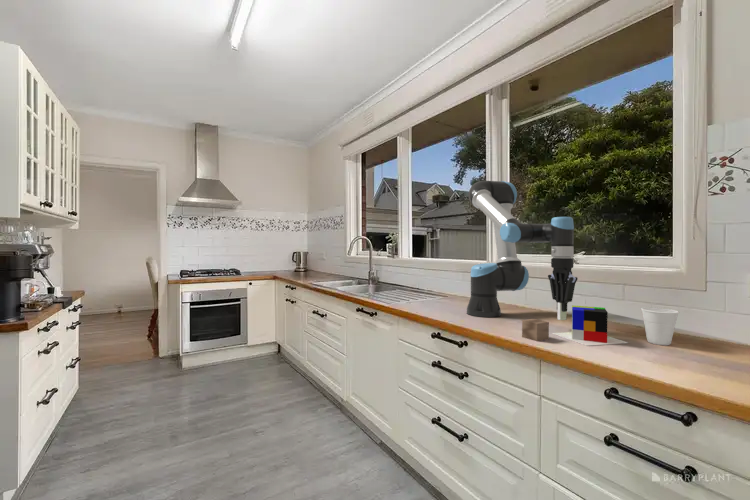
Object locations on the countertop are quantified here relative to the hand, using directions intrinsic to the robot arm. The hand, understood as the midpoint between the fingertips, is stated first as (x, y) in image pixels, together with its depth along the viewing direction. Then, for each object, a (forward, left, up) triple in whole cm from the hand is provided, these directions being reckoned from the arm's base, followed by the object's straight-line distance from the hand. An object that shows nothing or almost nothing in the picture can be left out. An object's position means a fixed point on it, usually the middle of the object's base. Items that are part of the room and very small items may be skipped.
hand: (561, 319), depth 137 cm
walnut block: (+9, -18, -4) cm, 20 cm away
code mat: (+13, 0, -4) cm, 13 cm away
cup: (+23, +18, -4) cm, 29 cm away
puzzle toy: (+13, 0, -4) cm, 13 cm away
